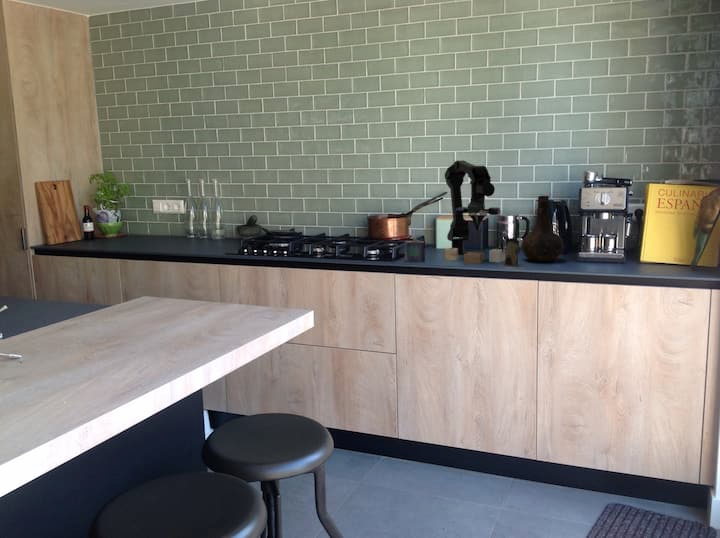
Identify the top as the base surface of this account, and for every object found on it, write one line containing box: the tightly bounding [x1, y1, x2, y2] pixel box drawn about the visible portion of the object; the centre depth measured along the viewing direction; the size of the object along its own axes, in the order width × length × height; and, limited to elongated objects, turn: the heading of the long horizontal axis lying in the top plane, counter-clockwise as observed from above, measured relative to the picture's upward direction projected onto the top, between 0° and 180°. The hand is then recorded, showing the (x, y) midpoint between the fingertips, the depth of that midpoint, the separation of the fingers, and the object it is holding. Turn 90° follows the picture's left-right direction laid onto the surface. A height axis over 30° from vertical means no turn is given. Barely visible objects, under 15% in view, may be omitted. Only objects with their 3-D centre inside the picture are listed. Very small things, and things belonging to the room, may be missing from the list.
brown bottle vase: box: [521, 195, 565, 263], centre depth 288 cm, size 18×18×28 cm
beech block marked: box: [444, 247, 459, 262], centre depth 299 cm, size 5×5×5 cm
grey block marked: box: [488, 248, 506, 264], centre depth 292 cm, size 5×5×5 cm
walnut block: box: [463, 251, 485, 265], centre depth 291 cm, size 7×7×4 cm
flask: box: [404, 237, 426, 263], centre depth 296 cm, size 9×3×11 cm, turn 65°
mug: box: [500, 235, 519, 267], centre depth 281 cm, size 8×6×12 cm
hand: (477, 230), depth 295 cm, fingers closed
